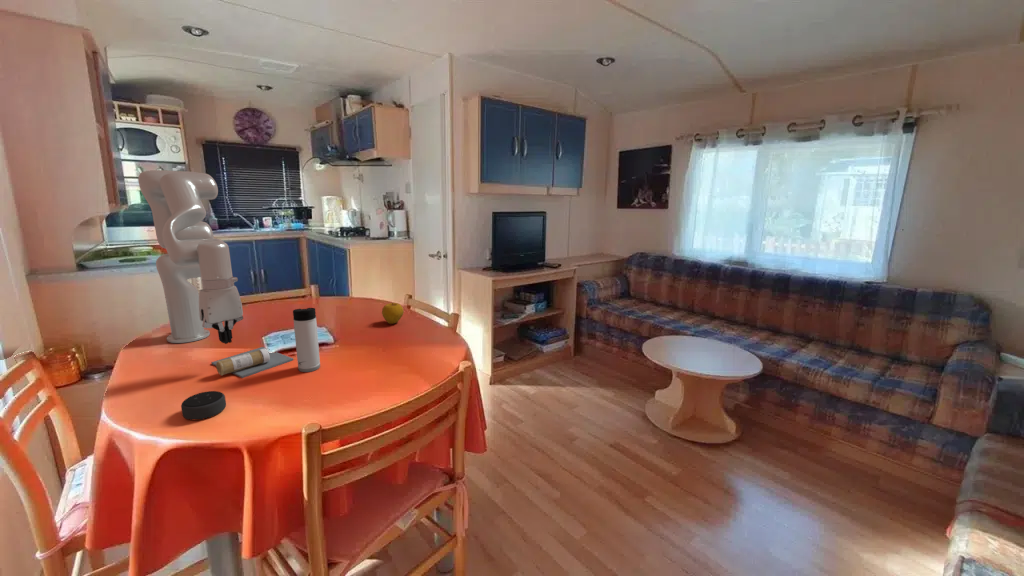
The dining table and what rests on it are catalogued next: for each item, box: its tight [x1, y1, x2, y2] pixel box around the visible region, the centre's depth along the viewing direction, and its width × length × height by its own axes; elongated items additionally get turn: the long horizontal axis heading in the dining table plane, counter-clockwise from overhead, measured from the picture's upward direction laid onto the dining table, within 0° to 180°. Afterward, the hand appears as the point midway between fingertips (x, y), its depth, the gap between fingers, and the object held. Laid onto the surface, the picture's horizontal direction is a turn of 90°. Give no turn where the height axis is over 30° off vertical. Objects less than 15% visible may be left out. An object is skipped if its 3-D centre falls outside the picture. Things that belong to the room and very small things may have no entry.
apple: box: [381, 302, 404, 325], centre depth 174 cm, size 9×9×9 cm
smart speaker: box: [180, 390, 227, 421], centre depth 103 cm, size 9×9×4 cm
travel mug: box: [292, 307, 321, 373], centre depth 128 cm, size 6×7×20 cm
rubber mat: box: [211, 346, 294, 379], centre depth 133 cm, size 18×16×1 cm
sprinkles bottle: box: [215, 347, 270, 376], centre depth 127 cm, size 5×5×13 cm
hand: (226, 342), depth 125 cm, fingers closed
